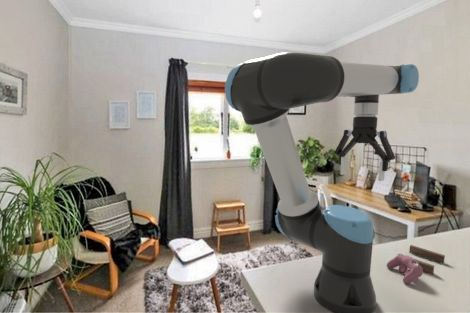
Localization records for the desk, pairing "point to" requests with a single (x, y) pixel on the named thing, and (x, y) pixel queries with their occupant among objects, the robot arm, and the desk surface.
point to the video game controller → (406, 267)
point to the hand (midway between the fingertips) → (361, 177)
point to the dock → (428, 255)
